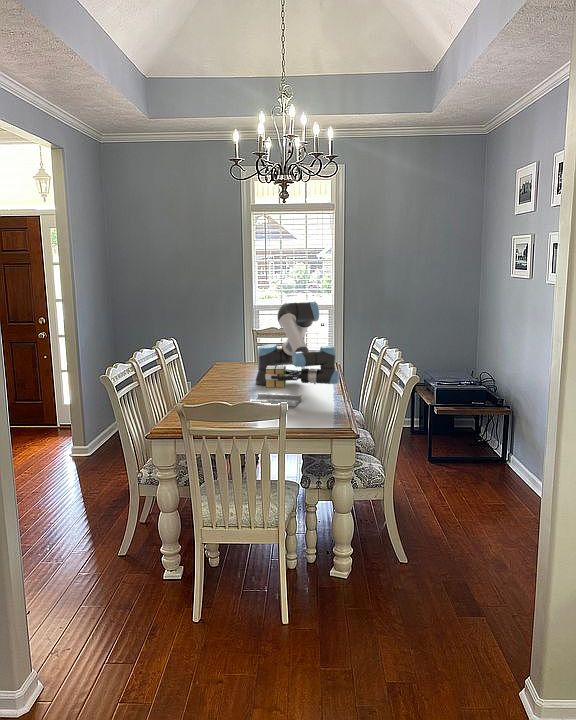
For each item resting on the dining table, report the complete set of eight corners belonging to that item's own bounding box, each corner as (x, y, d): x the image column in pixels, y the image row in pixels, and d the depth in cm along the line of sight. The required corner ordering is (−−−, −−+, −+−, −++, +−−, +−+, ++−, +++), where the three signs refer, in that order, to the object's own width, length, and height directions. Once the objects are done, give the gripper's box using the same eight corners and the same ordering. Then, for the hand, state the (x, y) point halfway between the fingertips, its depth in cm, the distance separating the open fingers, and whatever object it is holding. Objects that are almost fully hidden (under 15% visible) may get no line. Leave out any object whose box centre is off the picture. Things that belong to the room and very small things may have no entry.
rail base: (249, 405, 310) (249, 400, 309) (258, 398, 326) (258, 393, 325) (294, 407, 304) (294, 402, 304) (301, 400, 321) (301, 395, 320)
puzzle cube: (267, 383, 319) (266, 365, 317) (285, 383, 318) (285, 365, 316) (265, 387, 309) (265, 369, 307) (284, 388, 308) (284, 369, 306)
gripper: (304, 387, 298) (262, 386, 302) (313, 378, 320) (274, 377, 325) (304, 373, 296) (262, 371, 301) (313, 364, 319) (274, 363, 324)
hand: (268, 374), depth 313 cm, fingers closed on puzzle cube, 11 cm apart
